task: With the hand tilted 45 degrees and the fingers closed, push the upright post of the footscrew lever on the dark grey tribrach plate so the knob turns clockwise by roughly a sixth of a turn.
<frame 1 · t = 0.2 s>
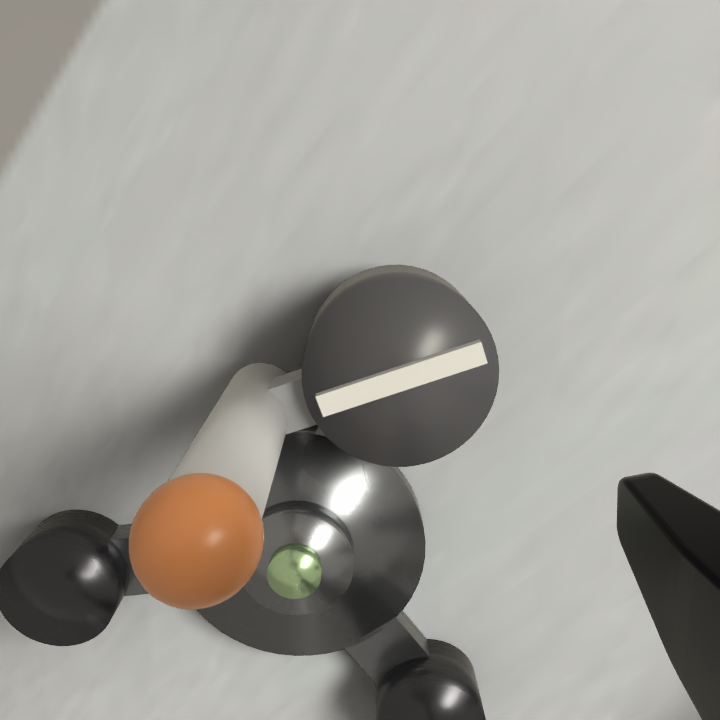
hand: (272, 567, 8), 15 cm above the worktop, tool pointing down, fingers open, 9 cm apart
footscrew lever: (346, 422, 17), point 7 cm above the worktop, hinge at 0.0°
tribrach: (300, 536, 25), on the worktop
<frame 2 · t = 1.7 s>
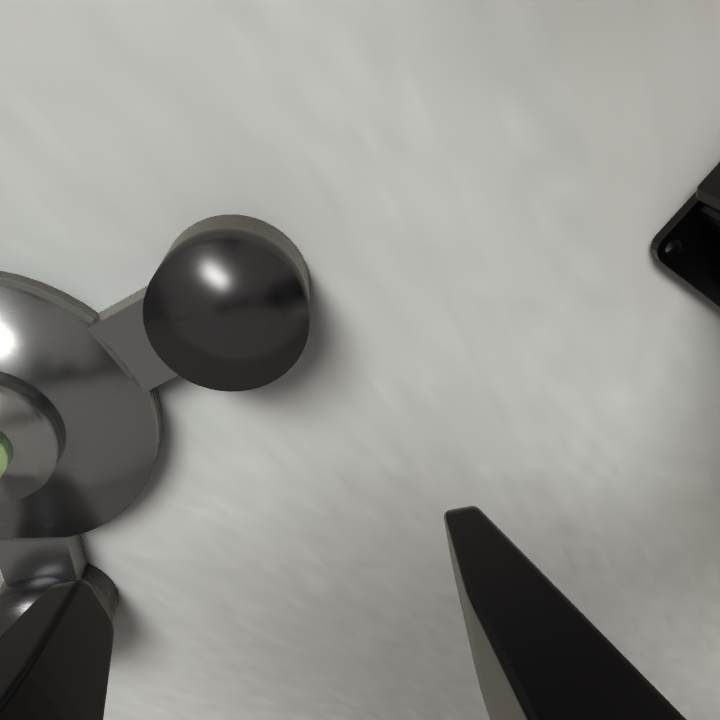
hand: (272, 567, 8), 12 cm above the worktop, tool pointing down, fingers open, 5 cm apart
tribrach: (7, 409, 20), on the worktop
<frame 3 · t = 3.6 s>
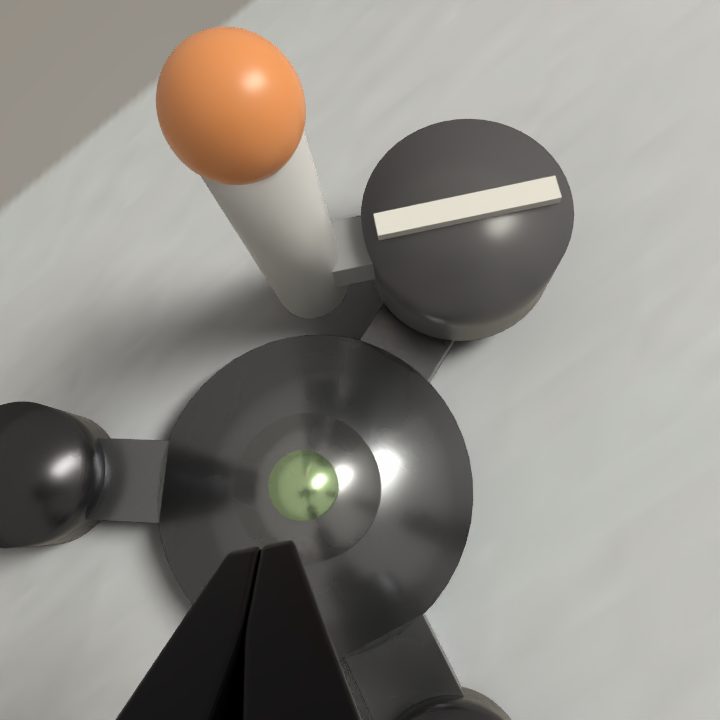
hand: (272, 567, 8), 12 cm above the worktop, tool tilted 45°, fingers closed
footscrew lever: (405, 180, 15), point 7 cm above the worktop, hinge at 0.0°
tribrach: (316, 489, 20), on the worktop
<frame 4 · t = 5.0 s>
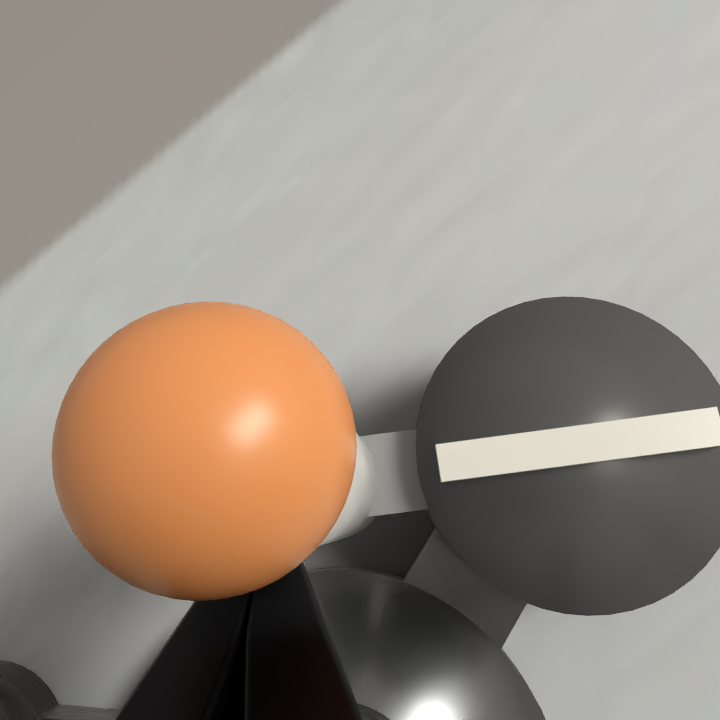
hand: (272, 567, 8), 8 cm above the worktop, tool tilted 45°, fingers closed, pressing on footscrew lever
footscrew lever: (500, 444, 10), point 7 cm above the worktop, hinge at 3.0°, touching gripper
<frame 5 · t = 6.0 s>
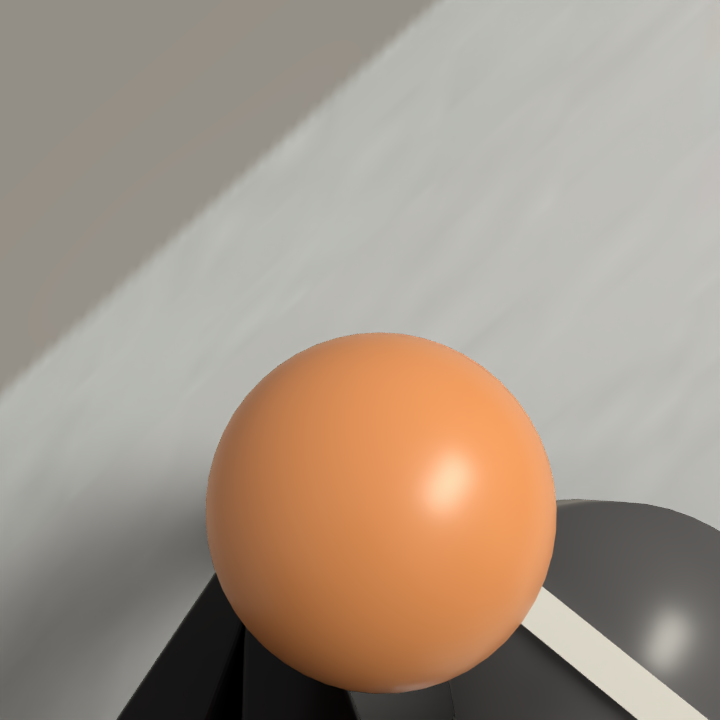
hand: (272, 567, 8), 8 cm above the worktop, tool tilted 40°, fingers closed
footscrew lever: (586, 653, 8), point 7 cm above the worktop, hinge at 49.6°, touching gripper
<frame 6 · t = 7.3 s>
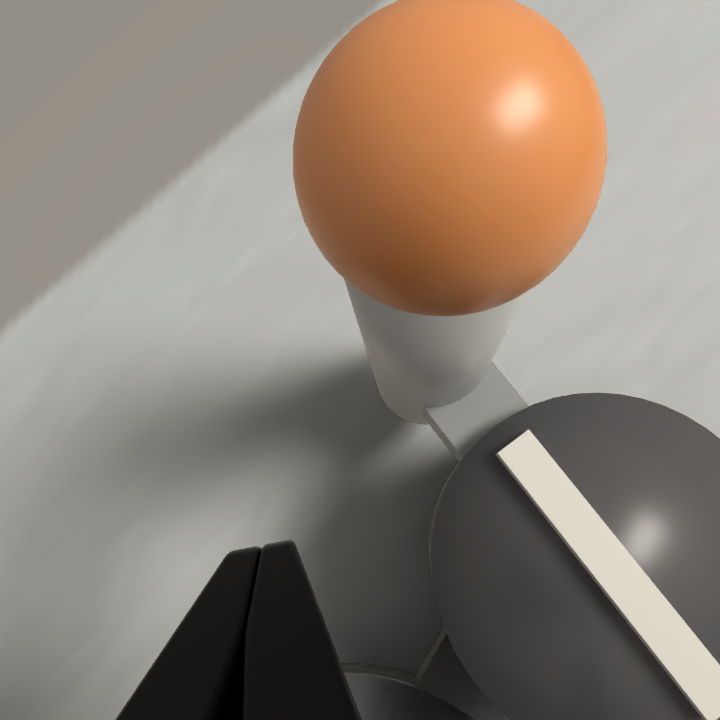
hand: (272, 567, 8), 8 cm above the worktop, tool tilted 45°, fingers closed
footscrew lever: (576, 477, 9), point 7 cm above the worktop, hinge at 64.5°
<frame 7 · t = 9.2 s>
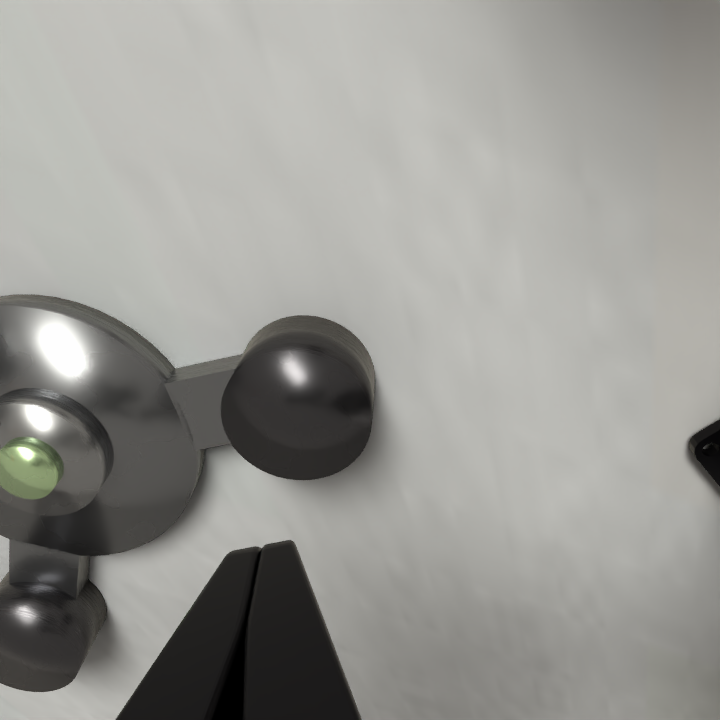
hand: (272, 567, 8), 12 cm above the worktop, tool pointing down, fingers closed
tribrach: (63, 428, 22), on the worktop
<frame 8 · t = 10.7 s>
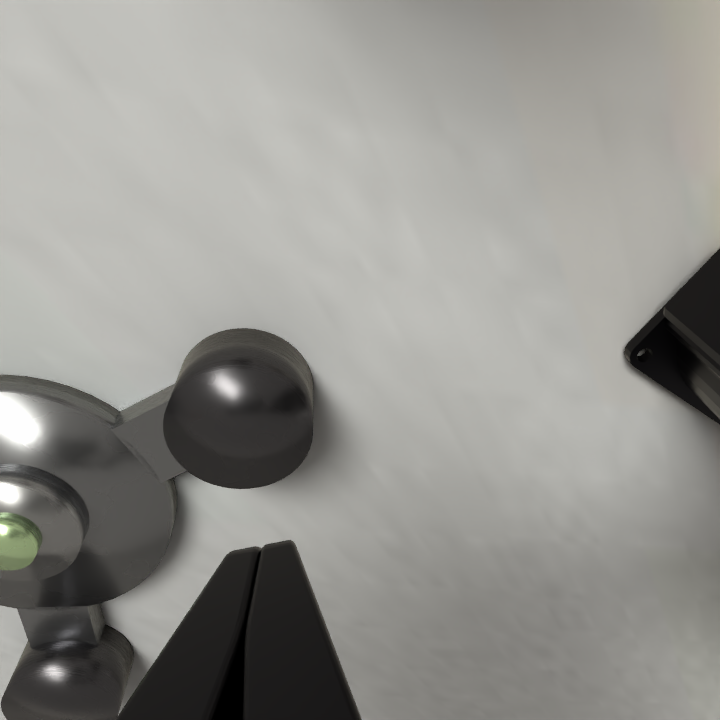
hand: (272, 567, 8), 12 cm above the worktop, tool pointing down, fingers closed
tribrach: (34, 493, 22), on the worktop
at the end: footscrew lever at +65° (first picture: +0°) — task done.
